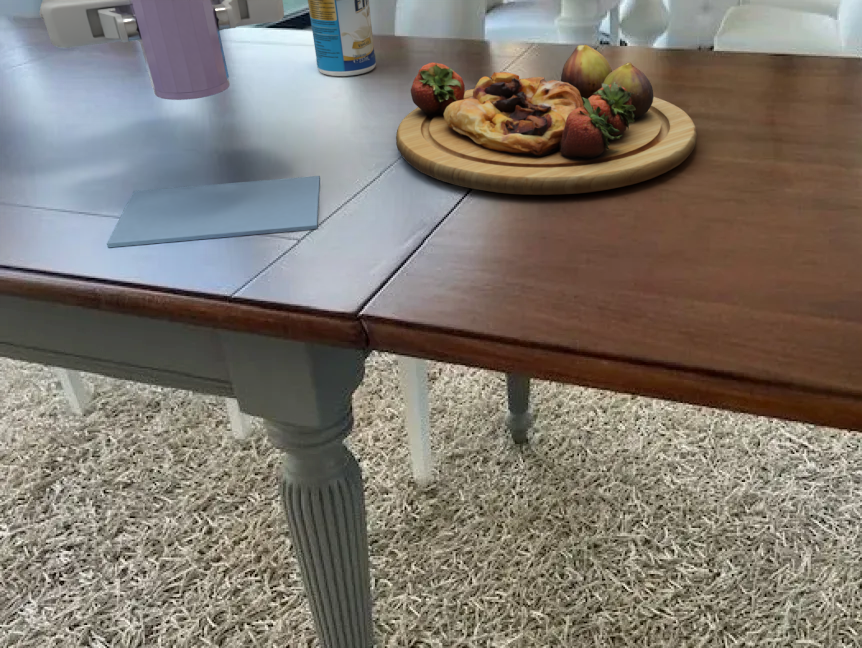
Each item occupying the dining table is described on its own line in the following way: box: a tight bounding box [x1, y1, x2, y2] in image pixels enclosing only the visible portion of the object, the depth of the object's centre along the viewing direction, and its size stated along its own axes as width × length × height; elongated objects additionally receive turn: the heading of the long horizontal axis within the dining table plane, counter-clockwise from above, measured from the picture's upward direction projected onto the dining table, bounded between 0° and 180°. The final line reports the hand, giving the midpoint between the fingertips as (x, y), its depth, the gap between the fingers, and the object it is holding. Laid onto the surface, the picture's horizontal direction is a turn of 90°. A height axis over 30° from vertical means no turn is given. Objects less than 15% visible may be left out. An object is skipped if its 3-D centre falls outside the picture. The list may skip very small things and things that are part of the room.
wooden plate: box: [395, 44, 698, 196], centre depth 90 cm, size 32×32×8 cm
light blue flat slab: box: [106, 175, 321, 248], centre depth 80 cm, size 18×12×1 cm, turn 99°
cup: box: [129, 0, 231, 101], centre depth 72 cm, size 6×6×10 cm
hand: (179, 24), depth 71 cm, fingers closed on cup, 6 cm apart
